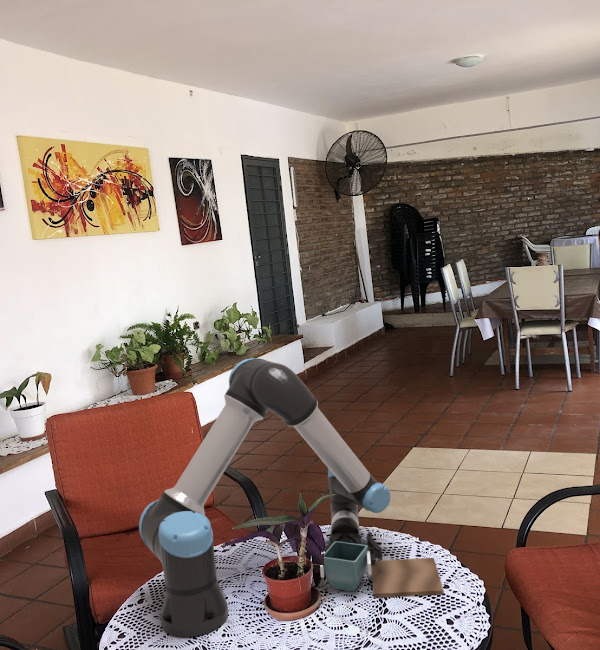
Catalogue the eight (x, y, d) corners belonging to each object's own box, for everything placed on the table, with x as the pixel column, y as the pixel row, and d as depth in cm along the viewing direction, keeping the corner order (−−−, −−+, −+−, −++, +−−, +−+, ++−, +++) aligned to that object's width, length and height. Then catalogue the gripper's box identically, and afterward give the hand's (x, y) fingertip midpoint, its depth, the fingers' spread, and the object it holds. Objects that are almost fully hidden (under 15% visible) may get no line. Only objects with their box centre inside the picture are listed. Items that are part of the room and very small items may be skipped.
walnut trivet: (373, 597, 156) (373, 593, 156) (370, 564, 172) (370, 561, 172) (443, 594, 155) (443, 590, 155) (433, 561, 171) (433, 557, 171)
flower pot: (358, 598, 157) (355, 561, 155) (323, 592, 160) (320, 556, 159) (371, 579, 164) (368, 544, 163) (337, 574, 168) (334, 540, 167)
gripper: (389, 541, 179) (396, 583, 157) (303, 546, 181) (298, 588, 159) (387, 514, 178) (394, 552, 156) (301, 519, 180) (295, 558, 158)
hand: (345, 570), depth 158 cm, fingers closed on flower pot, 10 cm apart
